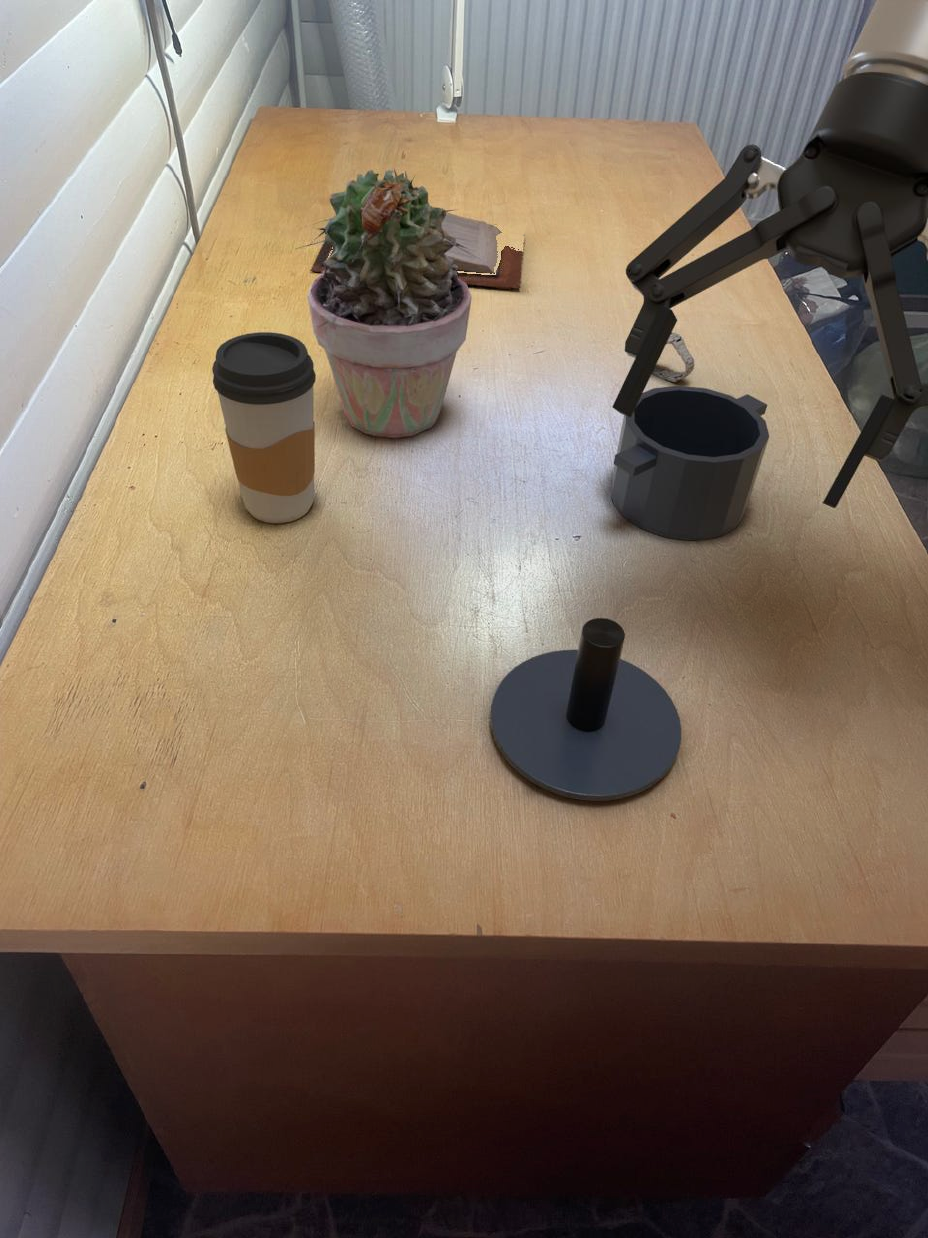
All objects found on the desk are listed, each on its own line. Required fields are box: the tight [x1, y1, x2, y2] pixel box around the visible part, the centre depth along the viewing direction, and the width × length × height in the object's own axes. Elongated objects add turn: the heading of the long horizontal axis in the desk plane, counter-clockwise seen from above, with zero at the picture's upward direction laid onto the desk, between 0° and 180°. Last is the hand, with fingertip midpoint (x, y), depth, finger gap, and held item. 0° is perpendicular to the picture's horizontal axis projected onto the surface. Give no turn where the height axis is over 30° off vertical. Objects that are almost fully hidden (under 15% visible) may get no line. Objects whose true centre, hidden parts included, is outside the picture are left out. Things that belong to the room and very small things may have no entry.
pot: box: [610, 385, 770, 541], centre depth 84 cm, size 13×18×8 cm
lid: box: [490, 617, 682, 802], centre depth 63 cm, size 14×14×10 cm
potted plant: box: [295, 168, 486, 439], centre depth 88 cm, size 18×20×25 cm
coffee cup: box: [211, 331, 317, 524], centre depth 79 cm, size 8×8×15 cm
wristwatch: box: [651, 332, 695, 383], centre depth 103 cm, size 4×6×5 cm, turn 45°
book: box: [309, 212, 525, 291], centre depth 125 cm, size 20×28×4 cm
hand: (721, 457), depth 55 cm, fingers open, 13 cm apart
